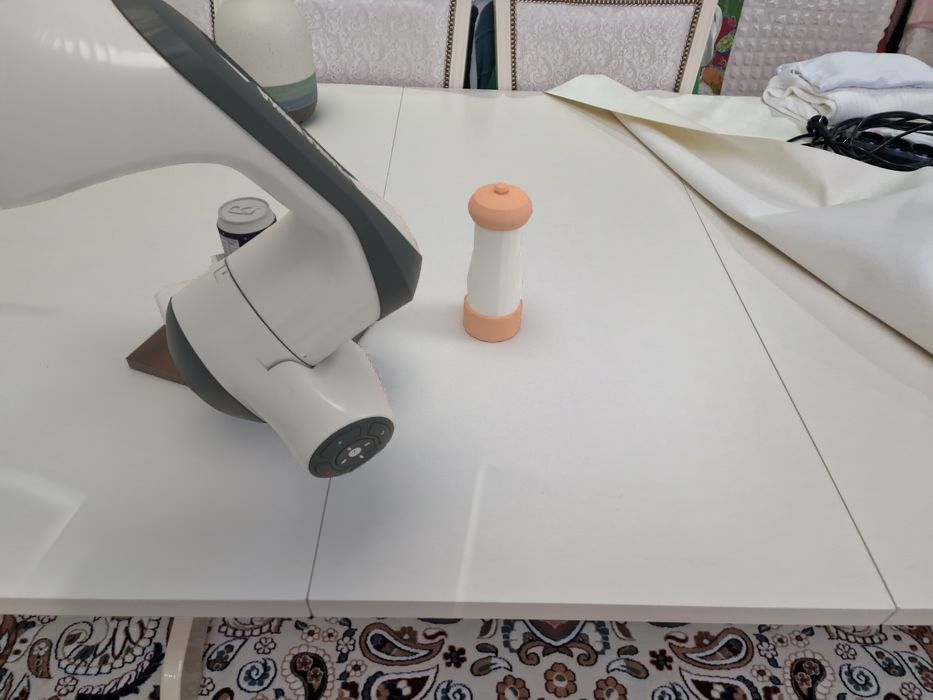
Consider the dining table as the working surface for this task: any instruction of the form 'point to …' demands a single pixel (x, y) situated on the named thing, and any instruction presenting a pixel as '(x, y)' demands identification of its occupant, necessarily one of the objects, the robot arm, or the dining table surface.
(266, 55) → the vase
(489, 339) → the pepper shaker
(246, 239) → the beverage can
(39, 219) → the dining table surface
